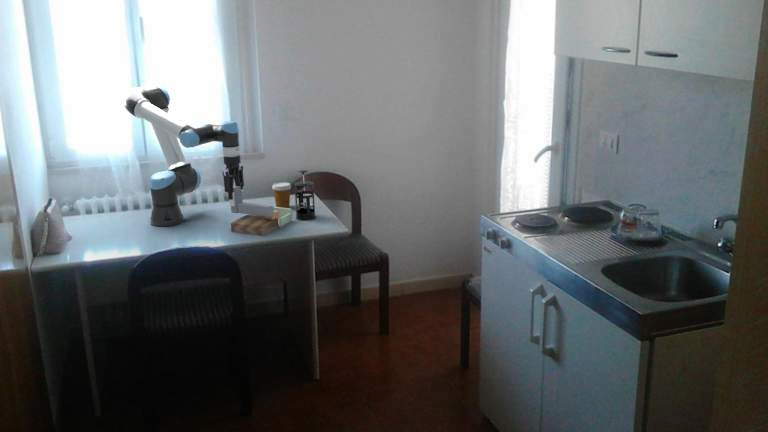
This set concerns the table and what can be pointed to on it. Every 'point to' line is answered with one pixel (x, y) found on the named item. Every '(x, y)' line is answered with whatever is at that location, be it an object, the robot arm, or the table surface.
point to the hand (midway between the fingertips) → (235, 204)
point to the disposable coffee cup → (282, 194)
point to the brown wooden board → (254, 225)
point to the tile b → (276, 215)
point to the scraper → (249, 206)
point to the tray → (283, 215)
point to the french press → (304, 207)
